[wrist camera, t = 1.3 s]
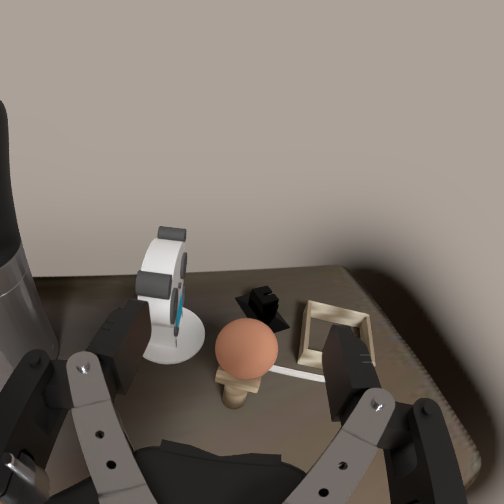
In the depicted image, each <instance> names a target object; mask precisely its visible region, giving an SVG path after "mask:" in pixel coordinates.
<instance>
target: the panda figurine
mask: <svg viewBox="0 0 504 504" xmlns="http://www.w3.org/2000/svg"><path fill="white" fill-rule="evenodd" d="M185 240H186V229H179V228H172V227H163V226H160V227H159V229H158V239H156V238H155V239H153V241H152V242H151V244H150V246H149V248H148V250H147V252H146V255H145V258H144V260H143V264H142V268H141V270H139V271H138V274H137V277H136V287H135V288H136V295H138V300H143V301H148V303H149V310H150V319H151V327H152V333H151V338H150V341H149V344H148V346H147V348H146V350H145V352H144V354H143V357H144V358H145V359H147V360H149V361H152V362H155V363H160V364H176V363H180V362H183V361H186V360H188V359H190V358H191V357H193V356H194V355H195V354H196V353H197V352H198V351H199V350H200V349H201V347H202V345H203V343H204V339H205V330H204V326H203V324H202V322H201V320H200V319H199V318H198V317H197V316H196V315H195V314H194V313H193V312H191V311H190V310H188V309H186V308H183V307H182V306H184V300H185V286H183V279H184V277H185V273H186V265H187V253H185ZM182 286H183V287H182Z"/></svg>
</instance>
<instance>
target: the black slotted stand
mask: <svg viewBox="0 0 504 504" xmlns="http://www.w3.org/2000/svg"><path fill="white" fill-rule="evenodd" d="M271 293H272V291H271V289H270V288H269V287H268V286H264V287H259V288H255V289H252V292H250V294H248V295H244V296H240V297H236V298H235V299H236V301H237V302H238V304H239V305H240V307H241V309H242V310H243V312H244V313H245V315H246V316H247V318H251V319H256V320H259V321H261V322H263V323H264V324H266V325H267V326H268V327H269V328H270V329H271V330H272V332H273V333H276V332H279V331H282V330H285V329H288V328H290V327H289V325H288V324H287V323H286V322H285V320H284V319H283V318H282V317H281V315H280V314H279V313H278V312H277V309H278V306H279V305H278V301H279V299H278V298H277V297H276V295H275V294H271ZM268 294H270V295H268Z"/></svg>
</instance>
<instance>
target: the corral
mask: <svg viewBox="0 0 504 504" xmlns="http://www.w3.org/2000/svg"><path fill="white" fill-rule="evenodd" d="M311 317H313V318H318V319H322V320H326V321H331V322H335V323H339V324H344V325H349V326H353V327H358V328H360V339H361V340H362V341H363V342H364V343H365V344H366V346H367V348H368V351H369V356H370V357H371V359H372V363H373V365H374V366H375V356H374V348H373V340H372V332H371V325H370V318H369V314H365V313H361V312H356V311H352V310H348V309H343V308H339V307H335V306H331V305H327V304H322V303H318V302H314V301H310V300H308V302H307V305H306V307H305V310H304V312H303V321H302V330H301V338H300V347H299V355H298V362H297V364H301V365H306V366H311V367H316V368H321V369H323V367H322V352H319V351H314V350H309V349H308V342H309V330H310V318H311Z"/></svg>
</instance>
